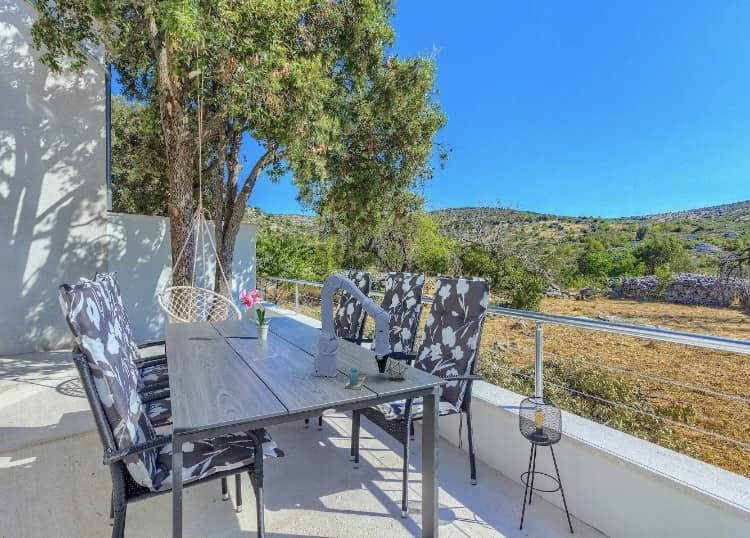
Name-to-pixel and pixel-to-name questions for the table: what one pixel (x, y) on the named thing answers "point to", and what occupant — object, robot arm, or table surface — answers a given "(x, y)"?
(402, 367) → the game die
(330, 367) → the robot arm
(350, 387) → the board
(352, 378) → the pawn
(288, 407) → the table surface
